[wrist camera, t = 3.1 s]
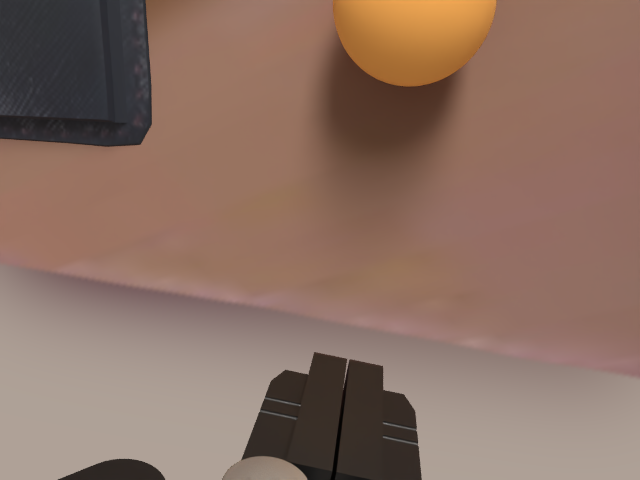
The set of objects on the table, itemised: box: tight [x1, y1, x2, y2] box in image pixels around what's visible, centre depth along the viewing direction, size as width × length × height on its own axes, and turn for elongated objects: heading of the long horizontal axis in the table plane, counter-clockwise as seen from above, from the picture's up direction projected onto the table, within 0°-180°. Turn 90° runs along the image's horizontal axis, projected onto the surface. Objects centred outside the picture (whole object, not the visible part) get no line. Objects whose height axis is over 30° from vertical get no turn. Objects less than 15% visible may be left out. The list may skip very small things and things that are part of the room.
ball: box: [333, 0, 497, 86], centre depth 20 cm, size 6×6×6 cm
